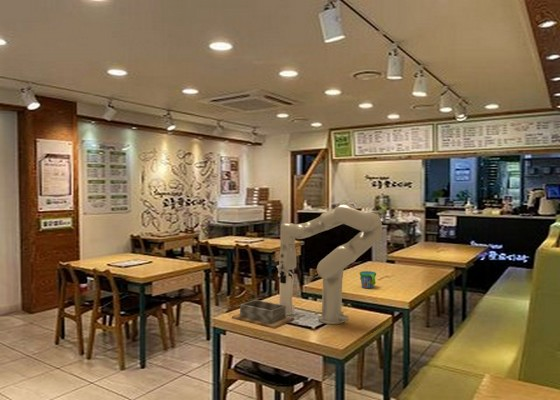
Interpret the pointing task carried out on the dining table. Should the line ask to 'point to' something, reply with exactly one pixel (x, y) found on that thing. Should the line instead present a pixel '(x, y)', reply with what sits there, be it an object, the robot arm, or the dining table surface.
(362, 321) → the dining table surface
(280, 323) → the caddy
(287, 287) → the fire extinguisher
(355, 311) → the dining table surface
